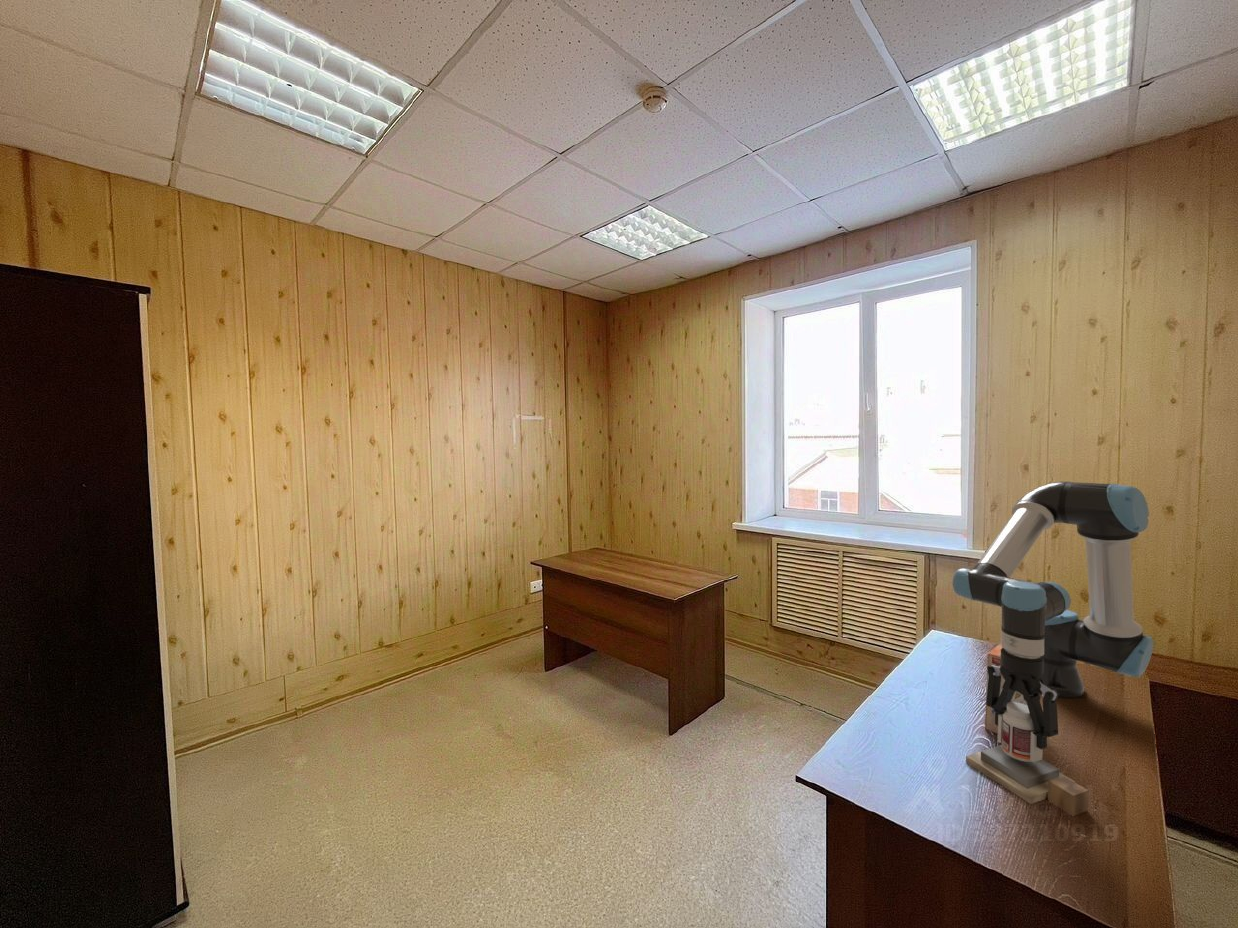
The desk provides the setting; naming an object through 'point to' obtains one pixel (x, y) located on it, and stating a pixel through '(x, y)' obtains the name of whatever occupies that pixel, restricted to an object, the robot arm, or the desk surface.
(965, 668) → the desk surface
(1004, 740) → the pill bottle
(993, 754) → the podium
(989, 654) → the cracker box
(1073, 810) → the walnut cube
